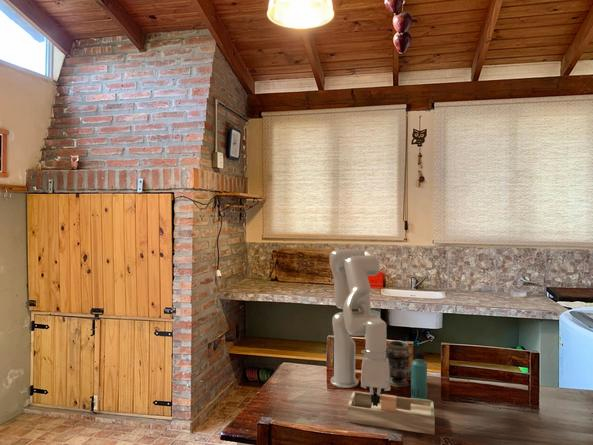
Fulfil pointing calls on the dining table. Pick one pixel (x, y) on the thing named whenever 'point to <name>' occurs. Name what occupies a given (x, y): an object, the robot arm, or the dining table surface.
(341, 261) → the robot arm
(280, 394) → the dining table surface
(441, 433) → the dining table surface
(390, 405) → the block
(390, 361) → the dark ribbed vase
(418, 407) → the light wood long tray
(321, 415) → the dining table surface
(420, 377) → the beverage bottle
